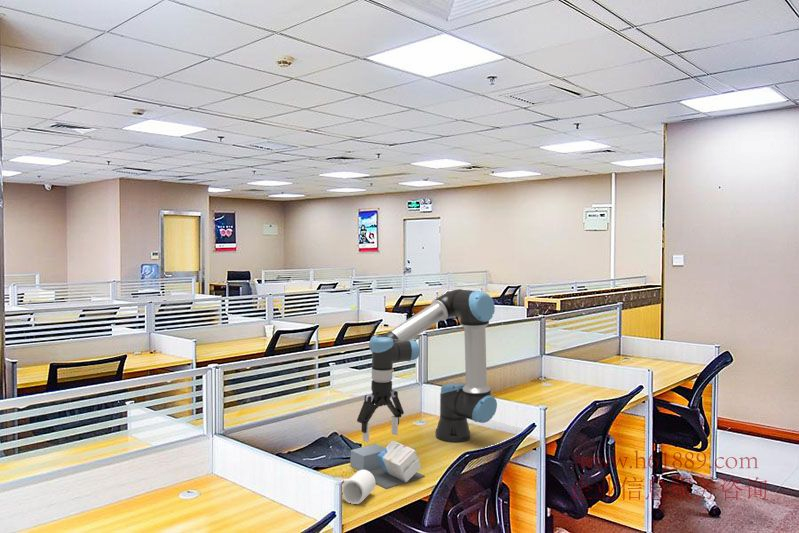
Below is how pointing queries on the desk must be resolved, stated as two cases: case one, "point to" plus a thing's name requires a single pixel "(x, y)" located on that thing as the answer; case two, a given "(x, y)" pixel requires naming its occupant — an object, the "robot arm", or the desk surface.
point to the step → (366, 457)
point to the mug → (358, 486)
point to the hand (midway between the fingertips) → (380, 437)
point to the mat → (390, 478)
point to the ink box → (399, 461)
